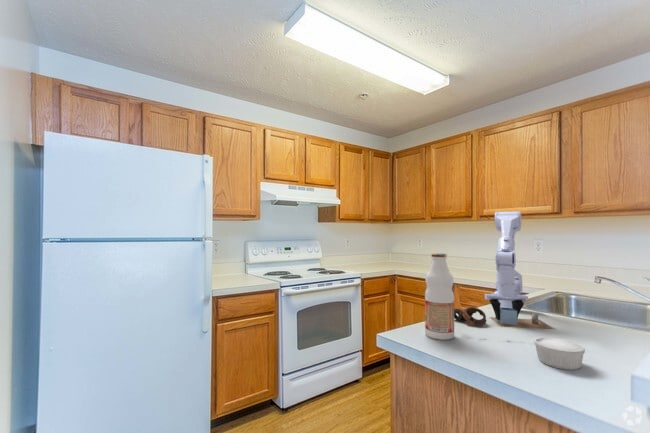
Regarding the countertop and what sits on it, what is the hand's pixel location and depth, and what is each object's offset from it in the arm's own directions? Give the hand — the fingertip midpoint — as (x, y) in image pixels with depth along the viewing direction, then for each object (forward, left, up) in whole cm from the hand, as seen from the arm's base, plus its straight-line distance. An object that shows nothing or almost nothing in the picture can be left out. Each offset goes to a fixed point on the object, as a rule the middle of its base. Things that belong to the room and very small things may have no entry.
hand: (506, 319), depth 120 cm
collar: (0, 0, -1) cm, 1 cm away
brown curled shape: (-8, -12, -3) cm, 15 cm away
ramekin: (+24, -22, -3) cm, 33 cm away
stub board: (+4, +4, -2) cm, 6 cm away
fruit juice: (-8, -30, -3) cm, 31 cm away
